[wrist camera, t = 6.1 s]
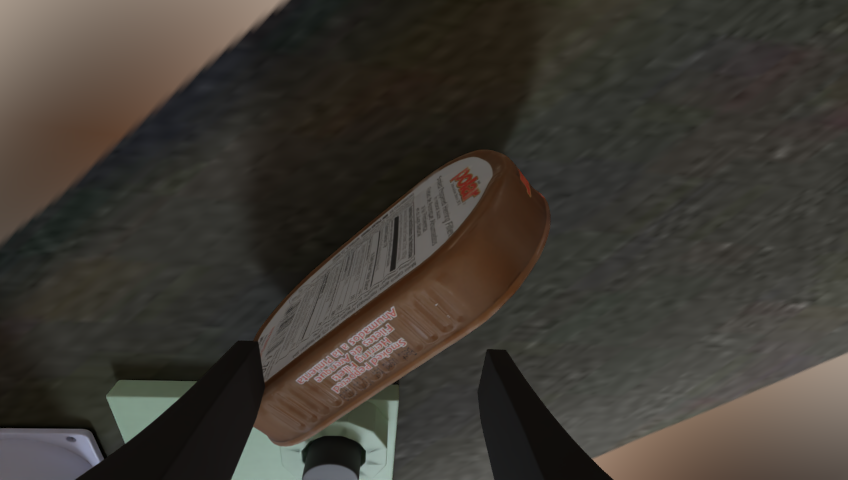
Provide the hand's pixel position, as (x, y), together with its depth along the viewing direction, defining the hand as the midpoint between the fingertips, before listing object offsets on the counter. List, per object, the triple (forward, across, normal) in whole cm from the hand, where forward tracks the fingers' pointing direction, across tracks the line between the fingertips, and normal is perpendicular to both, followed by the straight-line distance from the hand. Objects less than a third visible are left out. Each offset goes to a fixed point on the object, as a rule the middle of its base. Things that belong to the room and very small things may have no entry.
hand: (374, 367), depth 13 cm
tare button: (+5, +2, +12) cm, 13 cm away
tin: (+8, 0, 0) cm, 8 cm away
